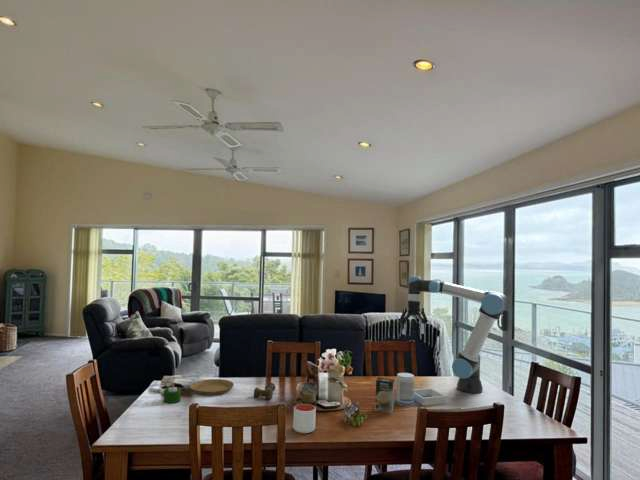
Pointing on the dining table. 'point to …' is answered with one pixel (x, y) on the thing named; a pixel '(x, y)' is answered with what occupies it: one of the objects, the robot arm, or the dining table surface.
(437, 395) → the open box
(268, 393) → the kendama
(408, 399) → the supplement tub
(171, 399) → the candle
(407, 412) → the dining table surface
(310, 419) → the cup
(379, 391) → the coffee box
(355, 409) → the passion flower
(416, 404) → the slate mat
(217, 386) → the plant saucer
